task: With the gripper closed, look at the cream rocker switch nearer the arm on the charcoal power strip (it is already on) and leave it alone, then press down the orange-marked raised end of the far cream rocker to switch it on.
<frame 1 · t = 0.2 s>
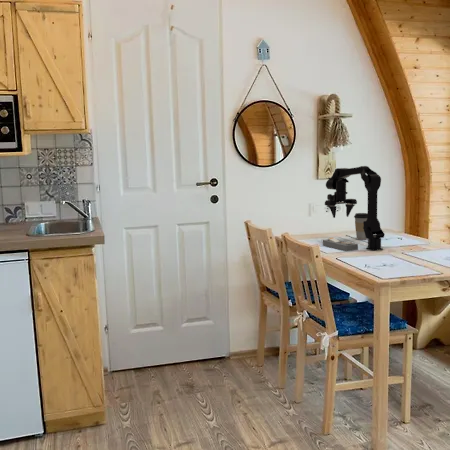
hand: (340, 217, 301), 14 cm above the table, tool pointing down, fingers open, 9 cm apart
power strip: (339, 247, 286), on the table
rocker far: (333, 240, 290), point 3 cm above the table, hinge at -12.0°
rocker near: (345, 243, 281), point 3 cm above the table, hinge at 12.0°
coffee cup: (361, 239, 311), on the table
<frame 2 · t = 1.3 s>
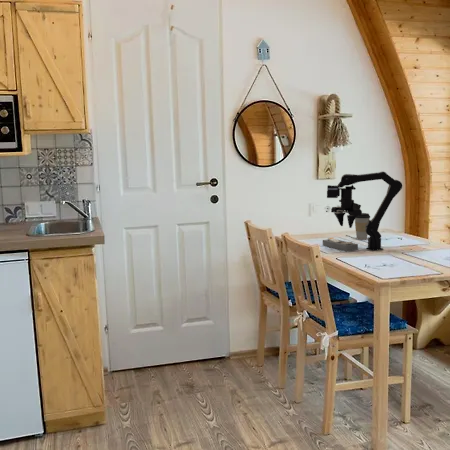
hand: (346, 226, 280), 12 cm above the table, tool pointing down, fingers open, 7 cm apart
nothing on the table moved.
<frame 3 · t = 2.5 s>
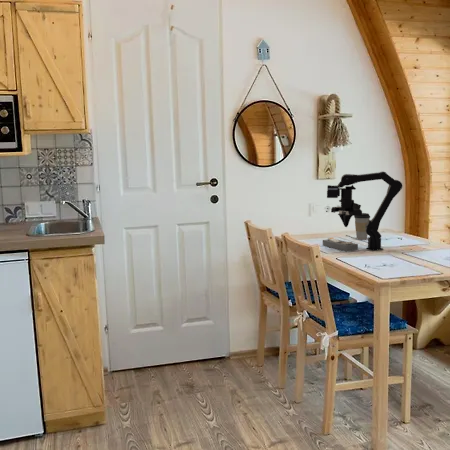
hand: (346, 226, 280), 12 cm above the table, tool pointing down, fingers closed
nothing on the table moved.
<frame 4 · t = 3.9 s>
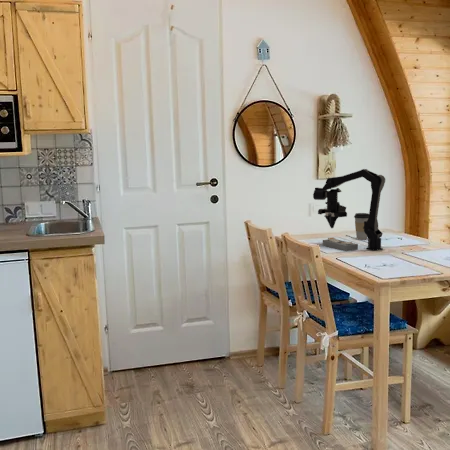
hand: (332, 228, 290), 10 cm above the table, tool pointing down, fingers closed
nothing on the table moved.
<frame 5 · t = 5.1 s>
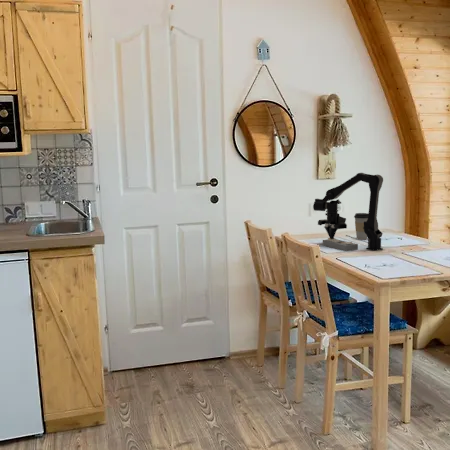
hand: (331, 239, 291), 3 cm above the table, tool pointing down, fingers closed, pressing on rocker far
rocker far: (333, 240, 290), point 3 cm above the table, hinge at -9.6°, touching gripper
everything else where it was.
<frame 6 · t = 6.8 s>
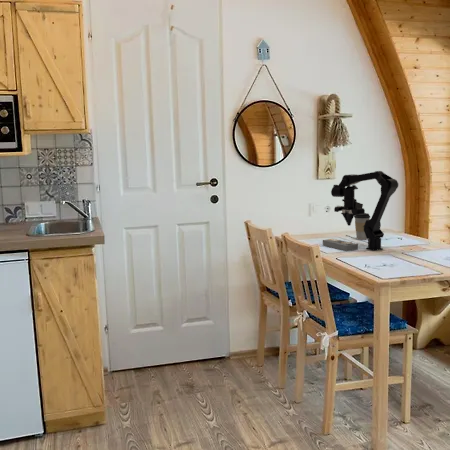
hand: (349, 225, 289), 11 cm above the table, tool pointing down, fingers closed
rocker far: (333, 240, 290), point 3 cm above the table, hinge at 1.7°
everything else where it was.
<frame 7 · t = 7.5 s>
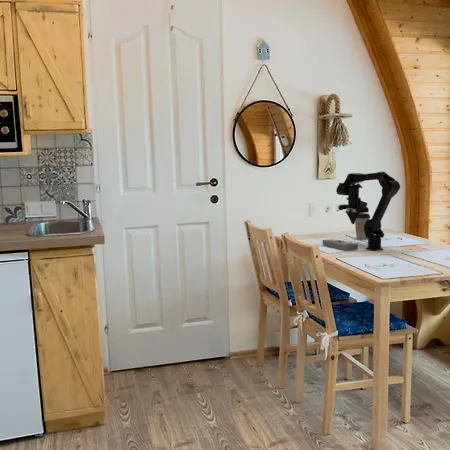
hand: (353, 224, 289), 12 cm above the table, tool pointing down, fingers closed
rocker far: (333, 240, 290), point 3 cm above the table, hinge at 4.3°
everything else where it was.
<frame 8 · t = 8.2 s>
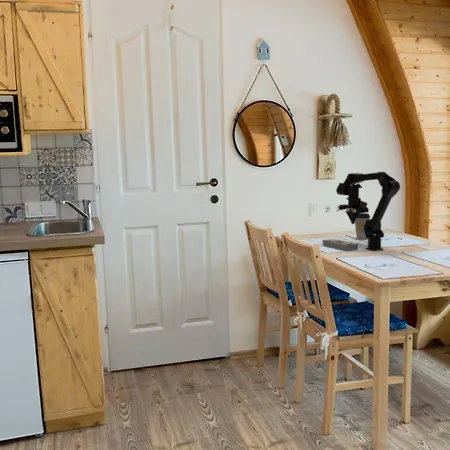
hand: (353, 224, 289), 12 cm above the table, tool pointing down, fingers closed
rocker far: (333, 240, 290), point 3 cm above the table, hinge at 6.3°
everything else where it was.
at the end: rocker far at +7° (first picture: -12°); rocker near at +12° (first picture: +12°) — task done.
